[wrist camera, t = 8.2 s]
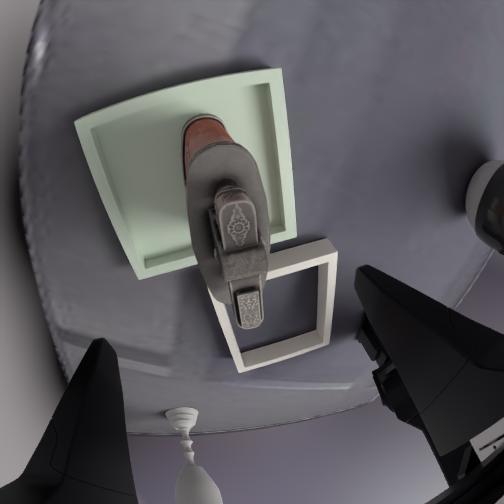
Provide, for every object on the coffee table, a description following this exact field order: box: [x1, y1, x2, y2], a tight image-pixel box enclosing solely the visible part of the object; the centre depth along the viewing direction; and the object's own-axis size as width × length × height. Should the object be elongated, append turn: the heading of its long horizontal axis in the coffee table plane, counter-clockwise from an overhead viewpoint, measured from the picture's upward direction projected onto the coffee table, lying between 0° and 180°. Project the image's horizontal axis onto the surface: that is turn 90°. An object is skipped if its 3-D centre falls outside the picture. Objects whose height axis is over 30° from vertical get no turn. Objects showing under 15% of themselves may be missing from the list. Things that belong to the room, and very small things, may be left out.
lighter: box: [181, 114, 271, 329], centre depth 14 cm, size 8×3×10 cm, turn 4°
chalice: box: [165, 407, 223, 504], centre depth 31 cm, size 7×7×18 cm
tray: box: [74, 68, 297, 280], centre depth 18 cm, size 12×12×2 cm
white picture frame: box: [207, 238, 338, 373], centre depth 27 cm, size 11×14×2 cm
